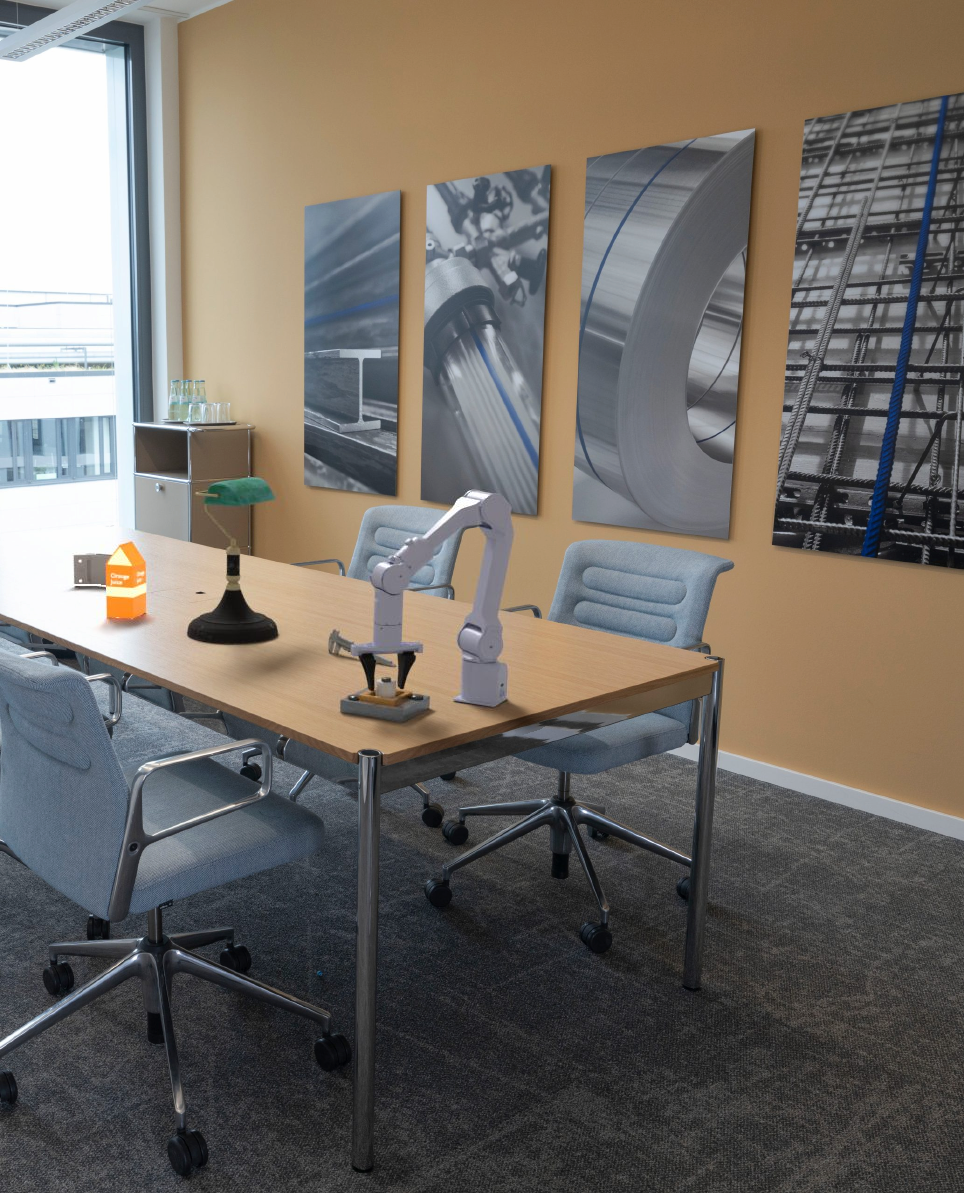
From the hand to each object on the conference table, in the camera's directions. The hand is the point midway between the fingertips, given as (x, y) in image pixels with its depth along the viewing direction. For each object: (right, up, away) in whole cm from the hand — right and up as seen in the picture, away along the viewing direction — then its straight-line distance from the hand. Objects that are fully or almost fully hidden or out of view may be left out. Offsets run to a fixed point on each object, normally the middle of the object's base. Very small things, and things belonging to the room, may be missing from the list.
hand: (386, 688), depth 220 cm
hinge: (-100, +21, +119) cm, 157 cm away
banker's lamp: (-45, +9, +63) cm, 78 cm away
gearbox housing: (0, -4, +1) cm, 4 cm away
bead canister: (0, -4, +1) cm, 4 cm away
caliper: (-10, +3, +42) cm, 43 cm away
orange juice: (-78, +13, +79) cm, 112 cm away
